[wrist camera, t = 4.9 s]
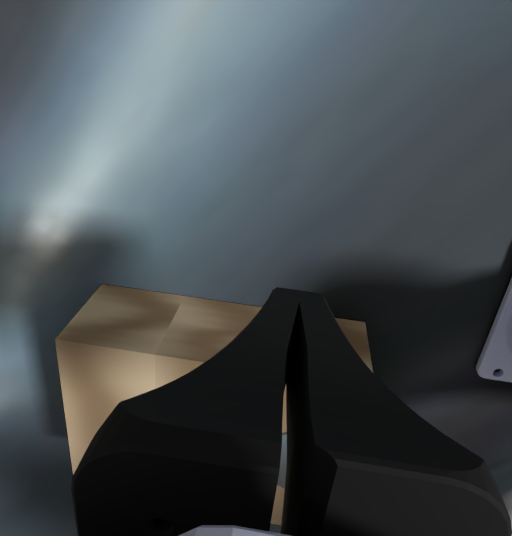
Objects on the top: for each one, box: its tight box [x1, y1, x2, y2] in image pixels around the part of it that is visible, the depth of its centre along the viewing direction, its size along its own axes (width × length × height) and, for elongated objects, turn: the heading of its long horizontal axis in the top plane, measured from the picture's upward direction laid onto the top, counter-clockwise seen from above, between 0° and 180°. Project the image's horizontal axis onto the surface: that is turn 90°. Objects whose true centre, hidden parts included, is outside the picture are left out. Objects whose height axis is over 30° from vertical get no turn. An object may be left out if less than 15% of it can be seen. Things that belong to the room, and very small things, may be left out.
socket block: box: [55, 284, 373, 525], centre depth 24 cm, size 14×10×5 cm
